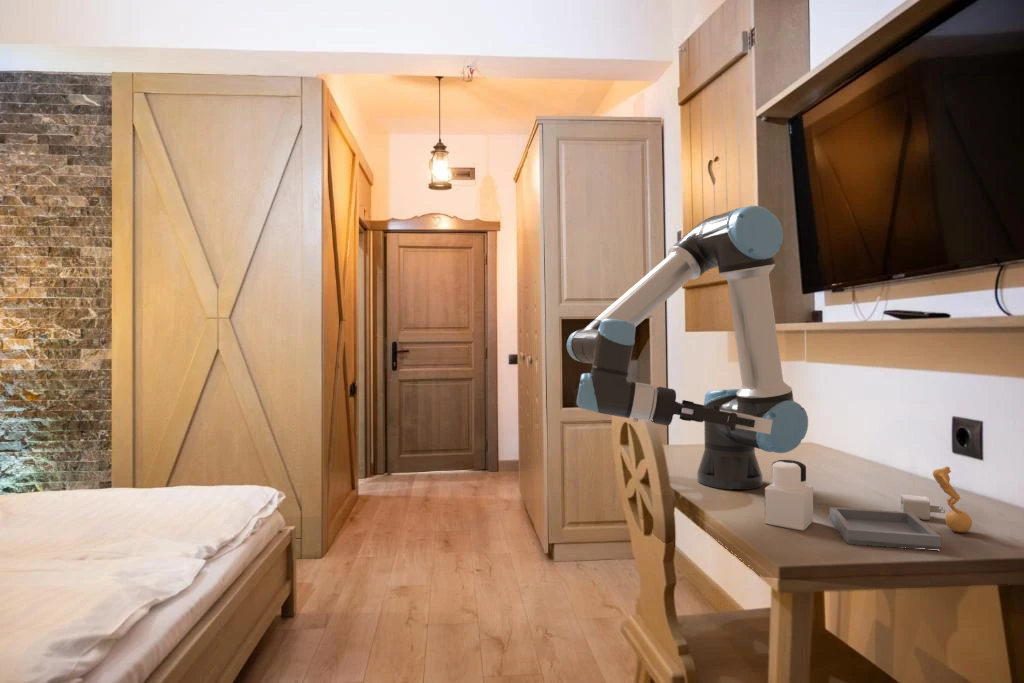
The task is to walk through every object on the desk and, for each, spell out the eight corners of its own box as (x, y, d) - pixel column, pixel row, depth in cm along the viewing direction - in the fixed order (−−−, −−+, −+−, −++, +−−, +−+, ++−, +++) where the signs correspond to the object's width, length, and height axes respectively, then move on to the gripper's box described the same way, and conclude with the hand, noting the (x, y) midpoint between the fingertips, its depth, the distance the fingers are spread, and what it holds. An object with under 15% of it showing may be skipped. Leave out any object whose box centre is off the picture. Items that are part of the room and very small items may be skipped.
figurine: (980, 540, 106) (981, 472, 106) (941, 537, 108) (940, 470, 108) (962, 525, 114) (962, 462, 114) (925, 523, 116) (925, 461, 116)
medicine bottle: (775, 515, 122) (774, 456, 122) (813, 521, 118) (813, 460, 118) (764, 524, 117) (764, 462, 117) (804, 531, 112) (803, 467, 112)
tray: (829, 519, 119) (829, 507, 119) (911, 525, 115) (911, 512, 115) (848, 544, 105) (848, 529, 105) (940, 551, 102) (940, 536, 101)
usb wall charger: (900, 512, 123) (900, 493, 123) (941, 517, 120) (941, 497, 120) (903, 518, 119) (903, 498, 119) (946, 523, 116) (946, 502, 116)
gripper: (643, 418, 135) (740, 437, 132) (657, 427, 110) (777, 450, 107) (649, 385, 135) (746, 403, 133) (664, 386, 110) (784, 408, 108)
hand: (760, 424), depth 120 cm, fingers open, 13 cm apart
